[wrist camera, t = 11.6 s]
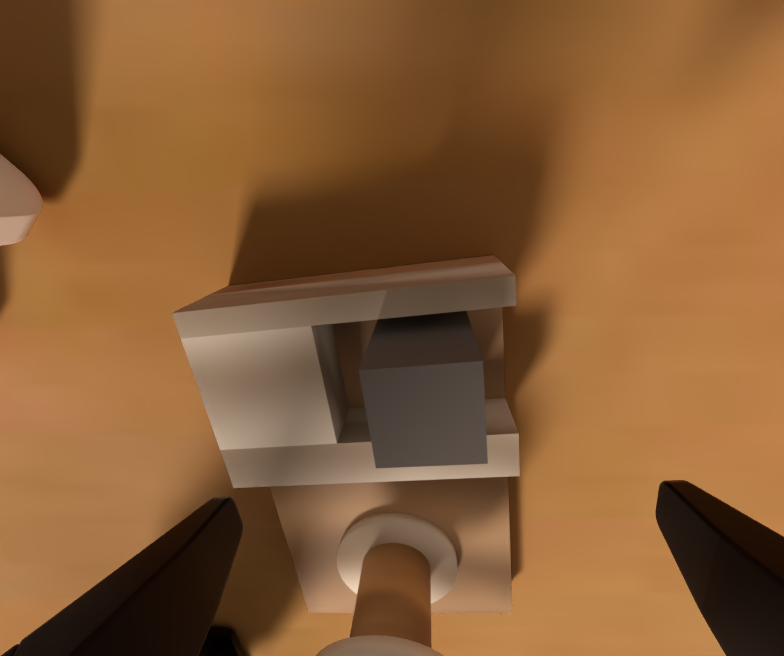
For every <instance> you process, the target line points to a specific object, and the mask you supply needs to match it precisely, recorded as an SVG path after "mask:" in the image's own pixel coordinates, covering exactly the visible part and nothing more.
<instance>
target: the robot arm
mask: <svg viewBox="0 0 784 656" xmlns="http://www.w3.org/2000/svg"><path fill="white" fill-rule="evenodd" d="M656 520H657V523H658V525H659V528H660V530H661V532H662V534H663V536H664V538H665V540H666V542H667V544H668V546H669V548H670V550H671V553H672V555H673V557H674V559H675V561H676V563H677V565H678V567H679V569H680V571H681V573H682V575H683V577H684V579H685V582H686V584H687V586H688V588H689V590H690V592H691V594H692V596H693V598H694V600H695V602H696V604H697V606H698V608H699V610H700V612H701V613H702V615H703V617H704V619H705V620H706V622H707V624H708V626H709V627H710V629H711V631H712V633H713V634H714V636H715V638H716V639H717V641H718V643H719V644H720V646H721V648H722V649H723V651H724V653H725V654H726V656H784V537H783V536H781V535H780V534H778V533H776V532H775V531H773V530H771V529H769V528H768V527H766V526H764V525H762V524H761V523H759V522H757V521H756V520H754V519H752V518H750V517H749V516H747V515H745V514H743V513H742V512H740V511H738V510H737V509H735V508H733V507H731V506H730V505H728V504H726V503H724V502H723V501H721V500H719V499H718V498H716V497H714V496H712V495H711V494H709V493H707V492H705V491H704V490H702V489H700V488H698V487H697V486H695V485H693V484H692V483H690V482H688V481H684V480H671V481H663V482H661V484H660V486H659V491H658V498H657V505H656ZM242 531H243V526H242V521H241V518H240V515H239V513H238V510H237V507H236V504H235V502H234V500H233V499H232V498H231V497H216V498H212V499H211V500H209V501H208V502H207V503H205V504H204V505H203V506H201V507H200V508H199V509H197V510H196V511H195V512H193V513H192V514H191V515H189V516H188V517H186V518H185V519H184V520H182V521H181V522H180V523H178V524H177V525H176V526H174V527H173V528H172V529H170V530H169V531H168V532H166V533H165V534H164V535H162V536H161V537H160V538H158V539H157V540H156V541H154V542H153V543H152V544H150V545H149V546H148V547H146V548H145V549H144V550H142V551H141V552H140V553H138V554H137V555H136V556H134V557H133V558H132V559H130V560H129V561H127V562H126V563H125V564H123V565H122V566H121V567H119V568H118V569H117V570H115V571H114V572H113V573H111V574H110V575H109V576H107V577H106V578H105V579H103V580H102V581H101V582H99V583H98V584H97V585H95V586H94V587H93V588H91V589H90V590H89V591H87V592H86V593H85V594H83V595H82V596H81V597H79V598H78V599H76V600H75V601H74V602H72V603H71V604H70V605H68V606H67V607H66V608H64V609H63V610H62V611H60V612H59V613H58V614H56V615H55V616H54V617H52V618H51V619H50V620H48V621H47V622H46V623H44V624H43V625H42V626H40V627H39V628H38V629H36V630H35V631H34V632H32V633H31V634H30V635H28V636H27V637H26V638H24V639H23V640H22V641H21V642H20V644H17V645H15V646H13V647H12V648H11V649H9V650H8V651H7V652H5V653H4V654H3V655H1V656H244V654H243V652H242V650H241V647H240V645H239V643H238V640H237V638H236V636H235V633H234V632H233V631H232V630H231V629H228V628H210V626H211V624H212V622H213V619H214V617H215V614H216V612H217V609H218V606H219V603H220V601H221V598H222V595H223V592H224V588H225V585H226V582H227V579H228V576H229V573H230V570H231V567H232V564H233V561H234V557H235V554H236V551H237V548H238V545H239V542H240V539H241V536H242Z"/></svg>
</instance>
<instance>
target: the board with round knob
mask: <svg viewBox="0 0 784 656" xmlns="http://www.w3.org/2000/svg"><path fill="white" fill-rule="evenodd" d="M508 306H516V275H515V274H513V273H512V272H511V271H510V270H509V269H508V268H507V267H506V266H505V265H504V264H503V263H502V262H501V261H500V260H499V259H498V258H497V257H496V256H495V255H489V256H481V257H472V258H464V259H455V260H446V261H438V262H429V263H421V264H412V265H404V266H395V267H386V268H378V269H369V270H361V271H352V272H343V273H335V274H326V275H318V276H309V277H301V278H292V279H283V280H275V281H266V282H258V283H249V284H240V285H232V286H227V287H225V288H223V289H220V290H218V291H216V292H214V293H212V294H210V295H208V296H206V297H204V298H202V299H200V300H198V301H196V302H194V303H192V304H190V305H188V306H185V307H183V308H181V309H179V310H177V311H175V312H173V313H172V315H173V318H174V321H175V324H176V327H177V329H178V332H179V335H180V338H181V341H182V344H183V346H184V349H185V352H186V355H187V358H188V361H189V363H190V366H191V369H192V372H193V375H194V378H195V380H196V383H197V386H198V389H199V392H200V395H201V397H202V400H203V403H204V406H205V409H206V412H207V414H208V417H209V420H210V423H211V426H212V429H213V431H214V434H215V437H216V440H217V443H218V446H219V448H220V451H221V454H222V457H223V460H224V462H225V465H226V468H227V471H228V474H229V477H230V479H231V482H232V485H233V488H246V487H270V490H271V493H272V496H273V500H274V503H275V506H276V509H277V512H278V516H279V519H280V522H281V525H282V529H283V532H284V535H285V538H286V541H287V545H288V548H289V551H290V554H291V557H292V561H293V564H294V567H295V570H296V574H297V577H298V580H299V583H300V586H301V590H302V593H303V596H304V599H305V603H306V606H307V609H308V612H329V613H354V616H353V622H352V628H351V634H350V638H346V639H343V640H340V641H337V642H334V643H332V644H330V645H328V646H327V647H325V648H324V649H322V650H321V651H320V652H319V653H318V654H317V655H316V656H443V655H442V654H440V653H439V652H437V651H435V650H433V649H431V613H512V586H511V555H510V525H509V494H508V477H510V476H520V469H519V433H518V430H517V427H516V425H515V422H514V419H513V417H512V414H511V411H510V409H509V406H508V404H507V401H506V398H505V371H504V340H503V309H502V307H508ZM458 311H467V314H468V317H469V320H470V323H471V326H472V329H473V332H474V335H475V338H476V341H477V344H478V347H479V350H480V353H481V356H482V360H483V372H484V393H485V414H486V435H487V456H488V464H471V465H447V466H423V467H399V468H376V466H375V460H374V455H373V449H372V443H371V438H370V432H369V426H368V421H367V415H366V409H365V404H364V398H363V392H362V387H361V381H360V375H359V368H360V366H361V363H362V360H363V357H364V355H365V352H366V349H367V347H368V344H369V341H370V339H371V336H372V333H373V331H374V328H375V325H376V323H377V320H378V319H387V318H397V317H407V316H417V315H427V314H437V313H448V312H458Z"/></svg>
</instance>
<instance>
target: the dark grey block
mask: <svg viewBox="0 0 784 656" xmlns="http://www.w3.org/2000/svg"><path fill="white" fill-rule="evenodd" d="M359 375H360V381H361V387H362V392H363V398H364V404H365V409H366V415H367V421H368V426H369V432H370V438H371V443H372V449H373V455H374V460H375V466H376V468H399V467H423V466H447V465H471V464H488V456H487V435H486V414H485V393H484V372H483V360H482V356H481V353H480V350H479V347H478V344H477V341H476V338H475V335H474V332H473V329H472V326H471V323H470V320H469V317H468V314H467V311H458V312H448V313H437V314H427V315H417V316H407V317H397V318H387V319H378V320H377V323H376V325H375V328H374V331H373V333H372V336H371V339H370V341H369V344H368V347H367V349H366V352H365V355H364V357H363V360H362V363H361V366H360V368H359Z"/></svg>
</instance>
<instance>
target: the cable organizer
mask: <svg viewBox="0 0 784 656" xmlns="http://www.w3.org/2000/svg"><path fill="white" fill-rule="evenodd" d="M42 207H43V200H42V197H41V195H40V193H39V191H38V190H37V188H36V187H35V186H34V184H33V183H32V182H31V181H30V180H29V179H28V178H27V177H26V176H25V175H24V174H23V173H22V172H21V171H20V170H19V169H18V168H16V167H15V166H14V165H13V164H12V163H11V162H9V161H8V160H7V159H6V158H5V157H3V156H2V155H1V154H0V245H8V244H14V243H18V242H20V241H22V240H24V239H25V238H26V237H27V236H28V234H29V232H30V230H31V228H32V227H33V225H34V223H35V221H36V219H37V217H38V216H39V214H40V212H41V210H42Z"/></svg>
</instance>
